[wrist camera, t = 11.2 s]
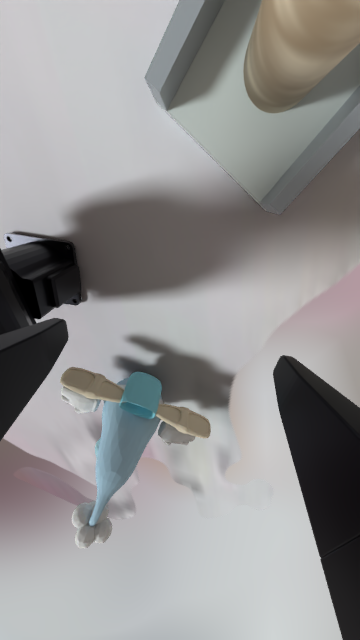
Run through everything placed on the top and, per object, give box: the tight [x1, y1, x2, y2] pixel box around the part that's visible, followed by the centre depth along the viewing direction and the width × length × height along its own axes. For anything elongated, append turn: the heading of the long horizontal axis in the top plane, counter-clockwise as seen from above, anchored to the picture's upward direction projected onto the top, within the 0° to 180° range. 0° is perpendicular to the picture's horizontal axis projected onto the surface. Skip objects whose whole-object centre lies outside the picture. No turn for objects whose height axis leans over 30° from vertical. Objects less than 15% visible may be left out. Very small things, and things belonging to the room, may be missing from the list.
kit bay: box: [145, 0, 360, 214], centre depth 12 cm, size 11×12×4 cm
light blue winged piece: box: [60, 367, 211, 549], centre depth 23 cm, size 17×10×15 cm, turn 65°
